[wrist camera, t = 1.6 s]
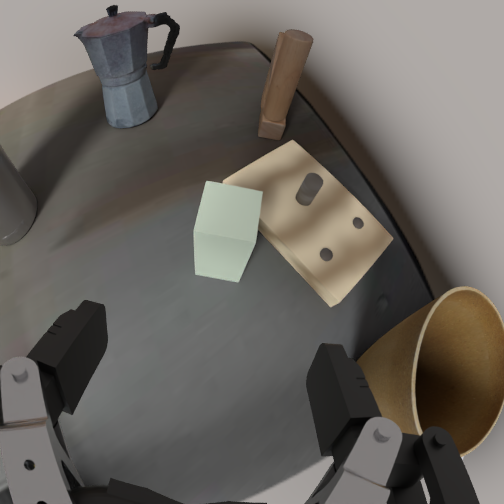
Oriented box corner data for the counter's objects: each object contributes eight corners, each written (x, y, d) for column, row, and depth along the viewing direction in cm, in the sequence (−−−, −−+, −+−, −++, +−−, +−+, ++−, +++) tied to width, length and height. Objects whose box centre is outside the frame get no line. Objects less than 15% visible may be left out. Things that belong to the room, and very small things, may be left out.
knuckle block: (195, 274, 33) (193, 231, 23) (203, 235, 35) (206, 180, 25) (238, 282, 33) (255, 242, 23) (244, 242, 35) (262, 191, 25)
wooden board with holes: (221, 191, 38) (226, 159, 32) (288, 150, 42) (300, 120, 36) (330, 307, 34) (356, 293, 28) (384, 245, 39) (410, 225, 33)
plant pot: (345, 457, 27) (433, 494, 12) (303, 351, 31) (384, 332, 17) (429, 397, 31) (521, 391, 16) (396, 304, 36) (484, 263, 21)
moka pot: (99, 98, 41) (82, 3, 23) (182, 93, 44) (186, -10, 26) (84, 134, 38) (54, 29, 20) (176, 128, 41) (176, 10, 22)
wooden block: (281, 101, 47) (309, 17, 31) (280, 142, 43) (316, 44, 26) (260, 97, 47) (284, 11, 30) (256, 137, 42) (285, 36, 26)
